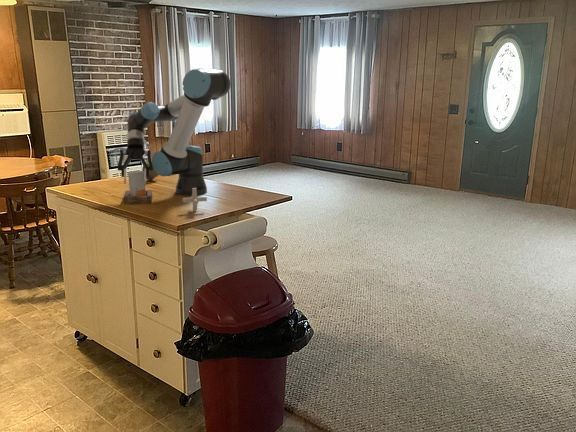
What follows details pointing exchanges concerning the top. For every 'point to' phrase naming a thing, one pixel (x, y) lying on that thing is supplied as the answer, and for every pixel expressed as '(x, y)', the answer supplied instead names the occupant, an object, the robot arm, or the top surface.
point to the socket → (137, 198)
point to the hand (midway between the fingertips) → (135, 182)
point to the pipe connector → (194, 199)
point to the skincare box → (137, 183)
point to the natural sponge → (151, 173)
